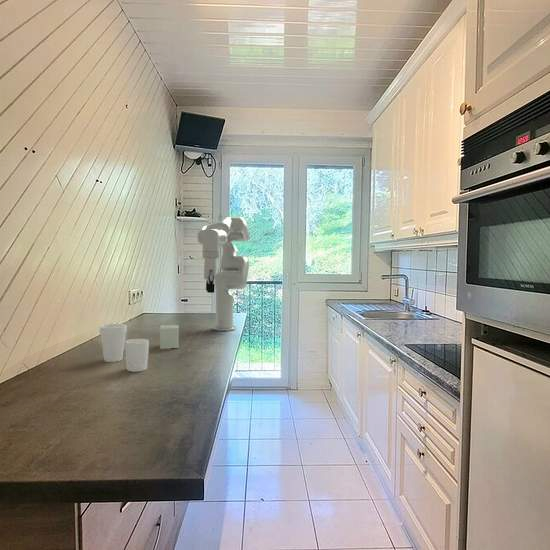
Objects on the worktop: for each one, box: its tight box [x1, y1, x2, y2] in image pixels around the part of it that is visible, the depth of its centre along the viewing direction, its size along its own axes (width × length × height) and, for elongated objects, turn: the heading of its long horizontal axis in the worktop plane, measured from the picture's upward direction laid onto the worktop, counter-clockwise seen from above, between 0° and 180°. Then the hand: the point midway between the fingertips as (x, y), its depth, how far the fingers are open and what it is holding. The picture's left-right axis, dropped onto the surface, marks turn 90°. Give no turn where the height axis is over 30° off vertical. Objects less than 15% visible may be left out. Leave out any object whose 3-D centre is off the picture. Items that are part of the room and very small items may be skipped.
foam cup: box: [99, 323, 128, 363], centre depth 149 cm, size 10×9×13 cm
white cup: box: [124, 338, 150, 373], centre depth 138 cm, size 8×8×10 cm
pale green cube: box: [159, 324, 180, 350], centre depth 172 cm, size 8×8×9 cm
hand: (210, 291), depth 186 cm, fingers open, 9 cm apart
